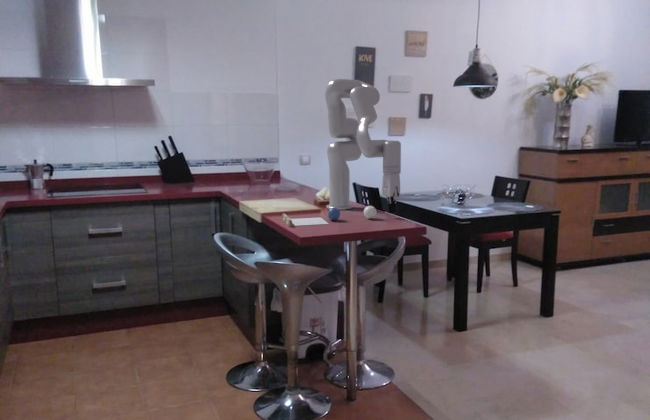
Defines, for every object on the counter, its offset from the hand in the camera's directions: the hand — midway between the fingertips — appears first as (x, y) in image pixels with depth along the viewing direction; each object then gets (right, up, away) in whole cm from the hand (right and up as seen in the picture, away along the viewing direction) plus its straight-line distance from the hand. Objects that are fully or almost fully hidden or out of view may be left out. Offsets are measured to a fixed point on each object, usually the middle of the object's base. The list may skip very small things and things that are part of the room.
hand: (391, 212), depth 231 cm
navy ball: (-25, -1, -6) cm, 26 cm away
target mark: (-36, -4, -8) cm, 37 cm away
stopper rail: (-44, -4, -10) cm, 46 cm away
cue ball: (-9, 0, -2) cm, 10 cm away
